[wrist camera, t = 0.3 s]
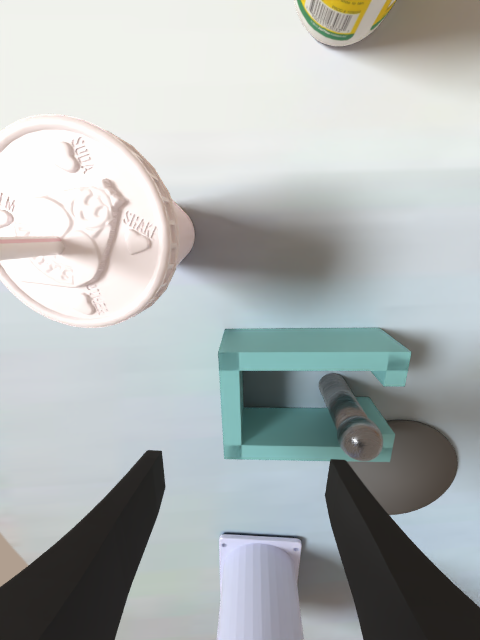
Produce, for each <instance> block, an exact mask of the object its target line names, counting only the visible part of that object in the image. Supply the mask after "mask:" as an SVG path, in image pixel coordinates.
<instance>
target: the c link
mask: <svg viewBox="0 0 480 640" xmlns="http://www.w3.org/2000/svg"><path fill="white" fill-rule="evenodd" d="M410 357H411V351H410V350H408V349H407V348H406V347H404V346H403V345H402V344H400V343H399V342H398V341H396V340H395V339H394V338H392V337H391V336H390V335H388V334H387V333H386V332H384V331H383V330H381V329H380V328H288V329H225V331H224V334H223V338H222V341H221V345H220V348H219V351H218V359H219V376H220V393H221V411H222V428H223V445H224V459H247V460H301V461H330V459H340V460H346V461H354V462H390V459H391V454H392V449H393V444H394V439H395V433H394V432H393V431H392V429H391V428H390V426H389V425H388V423H387V422H386V421H385V419H384V418H383V416H382V415H381V414H380V412H379V411H378V409H377V408H376V407H375V405H374V404H373V402H372V401H371V399H370V398H369V397H355V398H356V399H357V401H358V403H359V404H360V406H361V407H362V409H363V411H364V412H365V414H366V415H367V417H368V419H370V420H371V421H373V422H374V423H375V424H376V425H377V426H378V428H379V429H380V431H381V434H382V437H383V448H382V451H381V452H380V454H379V455H378V456H377V457H376V458H375V459H373V460H370V461H358V460H355V459H353V458H351V457H349V456H348V455H347V454H346V453H345V452H344V451H343V450H342V449H341V447H340V445H339V443H338V439H337V429H336V427H335V425H334V422H333V420H332V417H331V415H330V413H329V410H328V408H245V407H243V371H371V372H372V373H373V374H374V375H375V377H376V378H377V379H378V380H379V381H380V382H381V384H382V385H383V386H405V382H406V377H407V372H408V367H409V362H410Z"/></svg>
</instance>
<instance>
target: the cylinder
mask: <svg viewBox="0 0 480 640" xmlns="http://www.w3.org/2000/svg"><path fill="white" fill-rule="evenodd" d="M319 389H320V392H321V394H322V396H323V399H324V401H325V403H326V406H327V408H328V410H329V413H330V415H331V417H332V420H333V422H334V425H335V427H336V429H337V439H338V443H339V445H340V447H341V449H342V450H343V451H344V452H345V453H346V454H347V455H348V456H349V457H351V458H353V459H355V460H358V461H370V460H373V459H375V458H376V457H377V456H378V455H379V454H380V452H381V451H382V448H383V437H382V434H381V431H380V429H379V428H378V426H377V425H376V424H375V423H374V422H373V421H371V420H370V419H368V417H367V415H366V414H365V412H364V411H363V409H362V407H361V406H360V404H359V403H358V401H357V399H356V398H355V396H354V395H353V393H352V391H351V390H350V388H349V387H348V385H347V383H346V382H345V380H344V379H343V377H342V376H340V375H338V374H334V373H331V374H327V375H325V376H324V377H322V379H321V380H320V382H319Z"/></svg>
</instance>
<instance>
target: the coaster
mask: <svg viewBox="0 0 480 640" xmlns="http://www.w3.org/2000/svg"><path fill="white" fill-rule="evenodd" d="M386 422H387V423H388V425H389V426H390V428H391V429H392V431H393V432H394V433H395V439H394V444H393V449H392V454H391V459H390V462H354V461H347V462H348V463H349V465H350V466H351V467H352V469H353V470H354V472H355V473H356V474H357V476H358V477H359V478H360V479H361V481H362V482H363V483H364V485H365V486H366V487H367V489H368V490H369V491H370V492H371V494H372V495H373V496H374V497H375V499H376V500H377V501H378V502H379V504H380V505H381V506H382V507H383V508H384V510H385V511H386V512H387V513H388V514H389V515H395V514H403V513H408V512H411V511H415V510H418V509H420V508H422V507H425V506H427V505H429V504H430V503H432V502H434V501H435V500H436V499H438V498H439V497H440V496H441V495H442V494H443V493H444V492H445V491H446V490H447V489H448V488H449V487H450V485H451V483H452V482H453V480H454V477H455V475H456V471H457V456H456V452H455V450H454V448H453V446H452V445H451V443H450V442H449V441H448V440H447V439H446V438H445V437H444V436H443V435H442V434H441V433H440V432H439V431H437V430H436V429H434V428H432V427H430V426H428V425H426V424H423V423H420V422H415V421H408V420H393V421H386Z"/></svg>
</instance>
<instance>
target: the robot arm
mask: <svg viewBox="0 0 480 640" xmlns="http://www.w3.org/2000/svg"><path fill="white" fill-rule="evenodd" d="M164 490H165V479H164V469H163V459H162V451H153V450H148V451H146V452H145V454H144V455H143V456H142V457H141V458H140V459H139V460H138V462H137V463H136V464H135V465H134V466H133V467H132V468H131V469H130V471H129V472H128V473H127V474H126V475H125V476H124V477H123V478H122V479H121V481H120V482H119V483H118V484H117V485H116V486H115V487H114V488H113V489H112V490H111V491H110V492H109V493H108V494H107V495H106V496H105V498H104V499H103V500H102V501H101V502H100V503H98V504H97V505H96V506H95V507H94V508H93V509H92V510H91V511H90V512H89V513H88V514H87V515H86V516H85V517H84V518H83V519H82V520H81V521H80V522H79V523H78V524H77V525H76V526H75V527H74V528H72V529H71V530H70V531H69V532H68V533H67V534H66V535H65V536H64V537H62V538H61V539H60V540H59V541H58V542H57V543H56V544H54V545H53V546H52V547H51V548H50V549H48V550H47V551H46V552H45V553H43V554H42V555H41V556H40V557H39V558H37V559H36V560H35V561H34V562H33V563H31V564H30V565H29V566H28V567H26V568H25V569H24V570H22V571H21V572H20V573H19V574H17V575H16V576H15V577H13V578H12V579H11V580H9V581H8V582H7V583H5V584H4V585H3V586H1V587H0V640H115V636H116V633H117V630H118V626H119V623H120V620H121V616H122V613H123V610H124V606H125V603H126V600H127V596H128V593H129V591H130V588H131V585H132V582H133V579H134V577H135V574H136V571H137V569H138V566H139V563H140V561H141V558H142V555H143V553H144V550H145V548H146V545H147V542H148V540H149V537H150V534H151V532H152V529H153V526H154V524H155V521H156V518H157V516H158V512H159V509H160V505H161V502H162V498H163V494H164ZM325 498H326V503H327V508H328V513H329V518H330V523H331V527H332V530H333V533H334V537H335V540H336V543H337V547H338V550H339V553H340V556H341V560H342V563H343V566H344V569H345V573H346V576H347V579H348V582H349V586H350V589H351V592H352V595H353V599H354V603H355V606H356V610H357V614H358V618H359V622H360V626H361V631H362V635H363V639H364V640H480V607H478V606H477V605H476V604H475V603H474V602H473V601H472V600H471V599H470V598H469V597H468V596H466V595H465V594H464V593H463V592H462V591H461V590H460V589H459V588H458V587H457V586H455V585H454V584H453V583H452V582H451V581H450V580H449V579H448V578H447V577H446V576H445V575H444V574H443V573H442V572H441V571H440V570H439V569H438V568H437V567H436V566H435V565H434V564H433V563H432V562H431V561H430V560H429V559H428V558H427V557H426V556H425V555H424V554H423V553H422V551H421V550H420V549H419V548H418V547H417V546H416V545H415V544H414V543H413V542H412V541H411V540H410V539H409V537H408V536H407V535H406V534H405V533H404V532H403V531H402V530H401V528H400V527H399V526H398V525H397V524H396V523H395V522H394V520H393V519H392V518H391V517H390V516H389V514H388V513H387V512H386V511H385V510H384V508H383V507H382V506H381V505H380V504H379V502H378V501H377V500H376V499H375V497H374V496H373V495H372V494H371V492H370V491H369V490H368V489H367V487H366V486H365V485H364V483H363V482H362V481H361V479H360V478H359V477H358V476H357V474H356V473H355V472H354V470H353V469H352V467H351V466H350V465H349V463H348V462H347V461H346V460H340V459H330V466H329V473H328V479H327V486H326V493H325ZM301 547H302V545H301V540H300V539H297V538H282V537H265V536H248V535H231V534H222V535H221V536H220V538H219V556H220V594H221V599H220V610H219V621H218V632H217V640H304V636H303V628H302V620H301V612H300V604H299V596H298V588H297V581H298V572H299V564H300V556H301Z"/></svg>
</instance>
